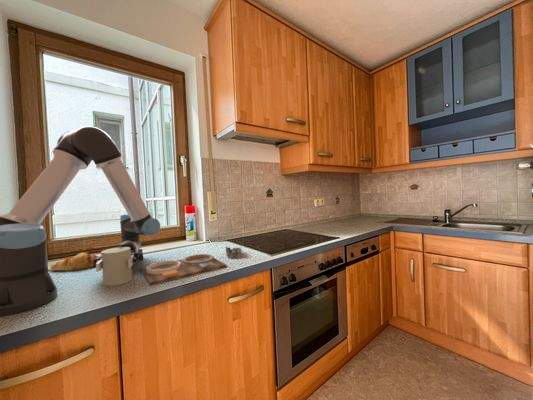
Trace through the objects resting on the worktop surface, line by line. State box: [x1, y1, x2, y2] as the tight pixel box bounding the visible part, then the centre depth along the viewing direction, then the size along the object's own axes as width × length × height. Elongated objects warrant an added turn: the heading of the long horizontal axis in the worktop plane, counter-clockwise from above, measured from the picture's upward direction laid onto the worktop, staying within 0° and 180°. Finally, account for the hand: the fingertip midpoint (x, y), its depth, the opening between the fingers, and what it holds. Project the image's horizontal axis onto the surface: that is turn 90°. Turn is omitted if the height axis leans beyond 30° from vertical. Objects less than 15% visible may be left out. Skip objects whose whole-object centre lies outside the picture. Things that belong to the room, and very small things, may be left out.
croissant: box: [50, 251, 100, 272], centre depth 103 cm, size 21×10×8 cm, turn 114°
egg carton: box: [225, 246, 243, 260], centre depth 114 cm, size 11×8×4 cm
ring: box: [146, 259, 181, 278], centre depth 92 cm, size 13×18×2 cm
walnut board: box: [140, 253, 227, 286], centre depth 97 cm, size 29×21×2 cm
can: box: [100, 246, 133, 287], centre depth 85 cm, size 9×9×12 cm
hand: (113, 265), depth 81 cm, fingers closed on can, 9 cm apart
